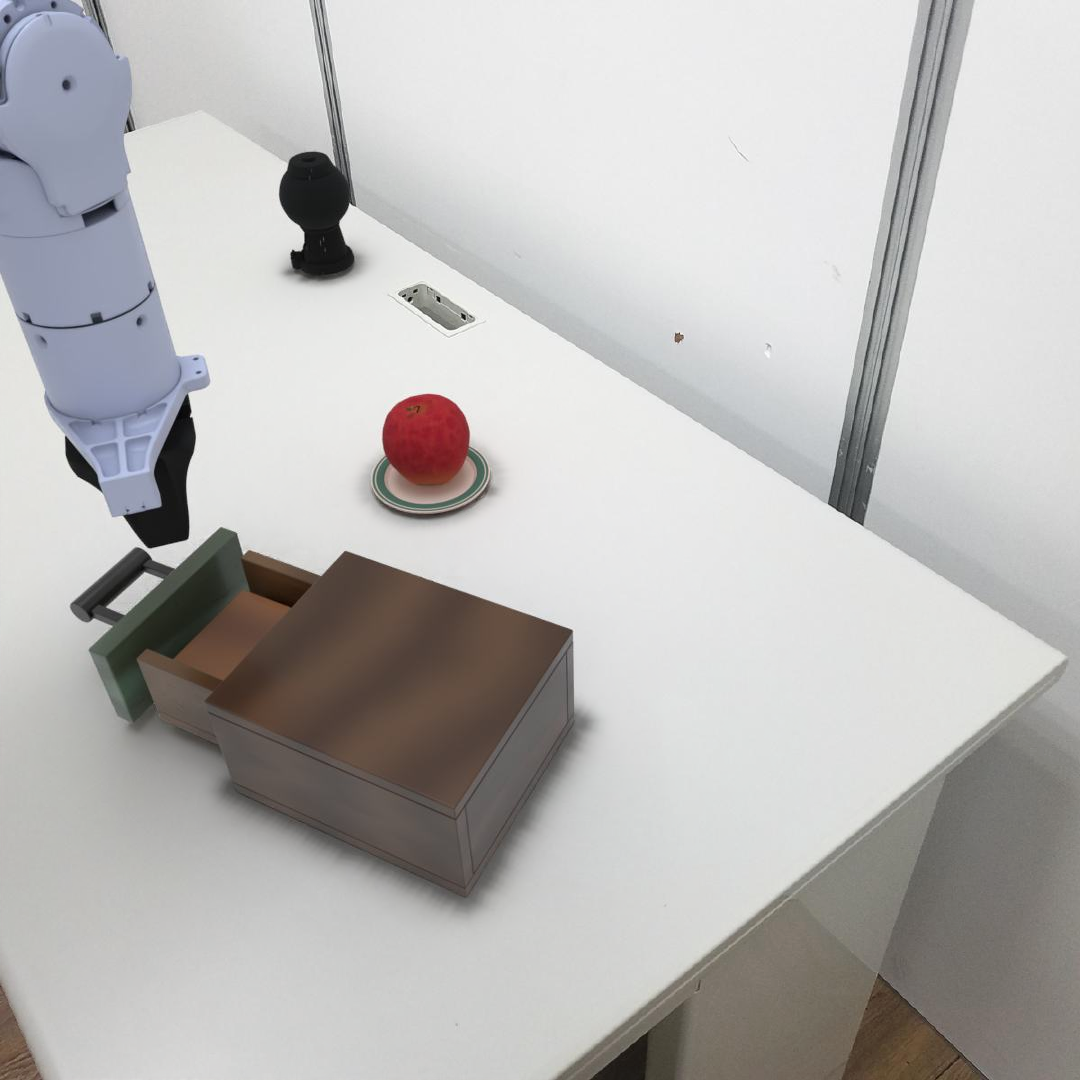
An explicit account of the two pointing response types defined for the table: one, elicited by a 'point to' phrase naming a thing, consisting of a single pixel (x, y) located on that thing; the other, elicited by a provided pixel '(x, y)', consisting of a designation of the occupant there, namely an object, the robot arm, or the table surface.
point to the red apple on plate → (428, 458)
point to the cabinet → (398, 716)
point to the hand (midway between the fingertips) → (167, 536)
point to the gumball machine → (317, 212)
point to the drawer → (176, 624)
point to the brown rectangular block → (232, 634)
